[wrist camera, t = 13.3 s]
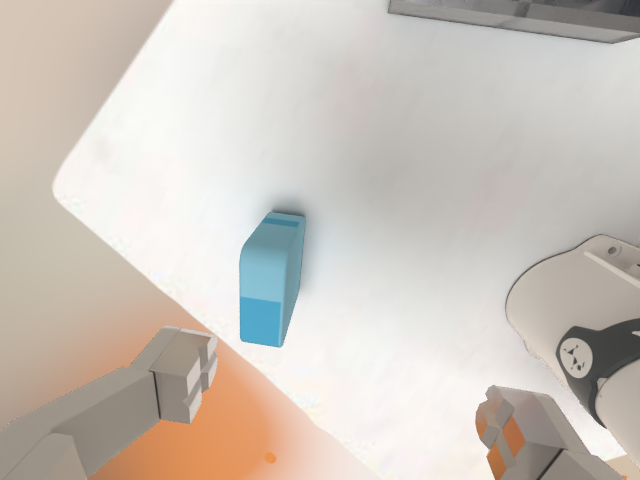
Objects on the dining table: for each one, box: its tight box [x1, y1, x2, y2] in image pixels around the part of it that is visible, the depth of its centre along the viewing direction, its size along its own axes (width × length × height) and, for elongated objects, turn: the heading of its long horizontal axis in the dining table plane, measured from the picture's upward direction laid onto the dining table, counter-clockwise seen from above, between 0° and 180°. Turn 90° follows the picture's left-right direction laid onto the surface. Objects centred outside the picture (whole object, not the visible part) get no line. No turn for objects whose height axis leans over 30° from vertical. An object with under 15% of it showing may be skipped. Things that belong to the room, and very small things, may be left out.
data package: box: [239, 212, 305, 347], centre depth 35 cm, size 12×4×12 cm, turn 174°
